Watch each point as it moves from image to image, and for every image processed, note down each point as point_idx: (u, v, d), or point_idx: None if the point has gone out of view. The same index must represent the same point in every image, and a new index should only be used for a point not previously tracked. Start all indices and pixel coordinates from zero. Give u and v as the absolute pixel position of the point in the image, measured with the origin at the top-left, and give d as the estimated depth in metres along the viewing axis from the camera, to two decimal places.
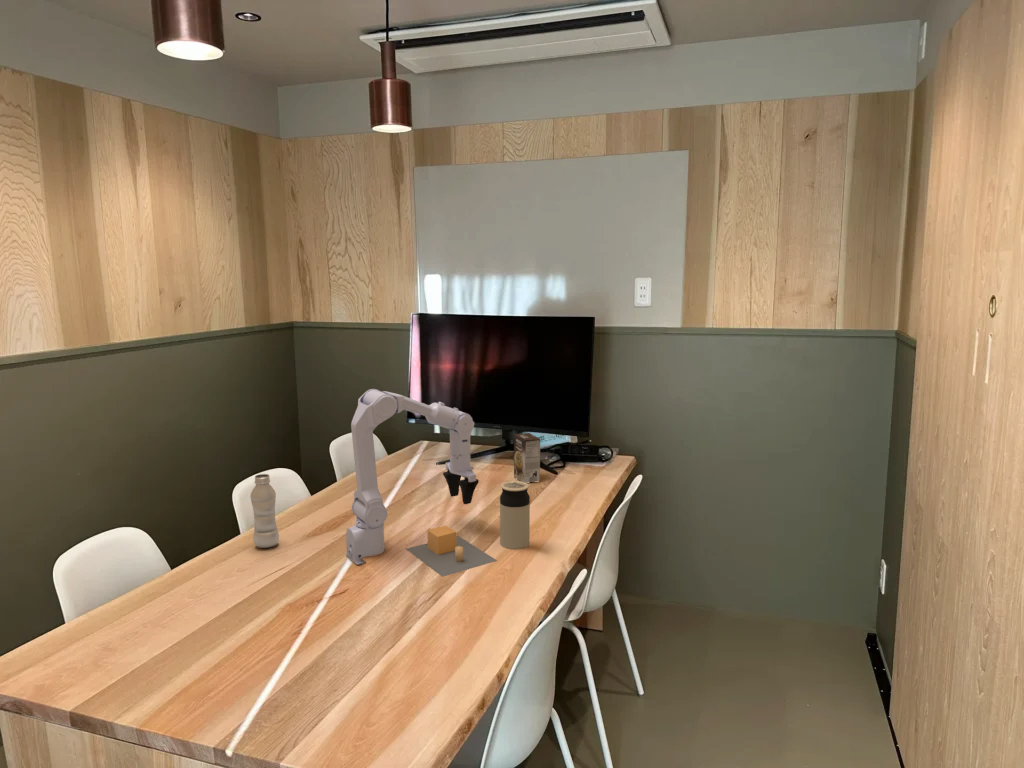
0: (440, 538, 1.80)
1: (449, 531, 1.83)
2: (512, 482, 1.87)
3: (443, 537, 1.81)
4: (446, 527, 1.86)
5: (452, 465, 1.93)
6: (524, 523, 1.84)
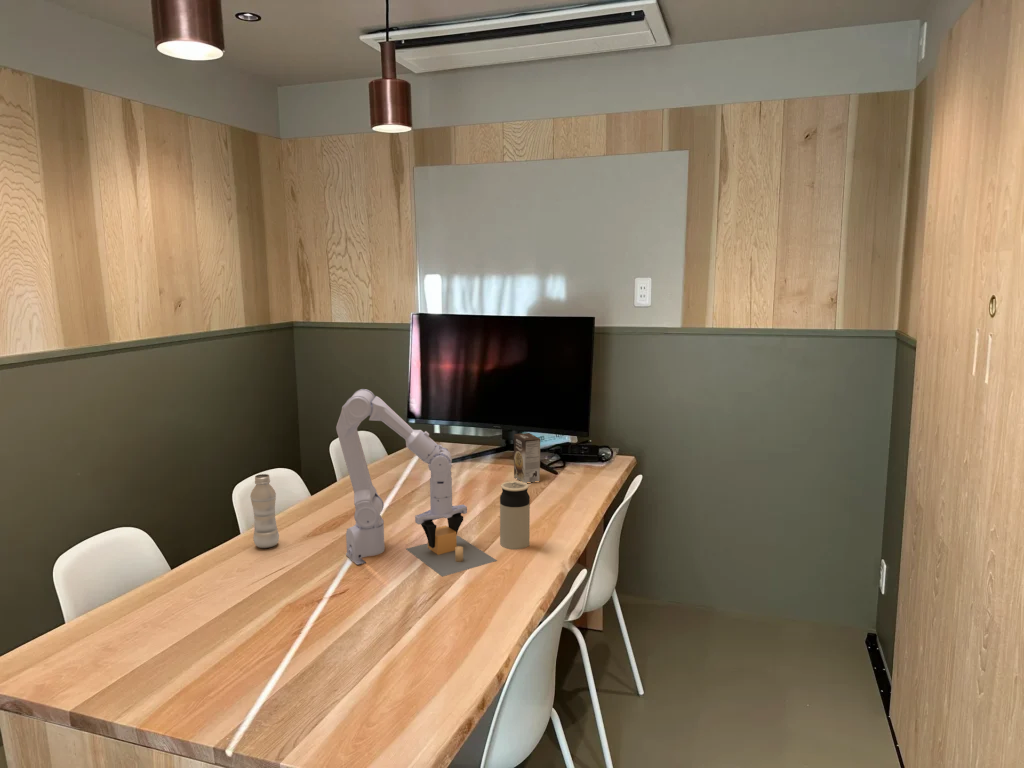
0: (440, 538, 1.80)
1: (449, 531, 1.83)
2: (512, 482, 1.87)
3: (443, 537, 1.81)
4: (446, 527, 1.86)
5: None
6: (524, 523, 1.84)
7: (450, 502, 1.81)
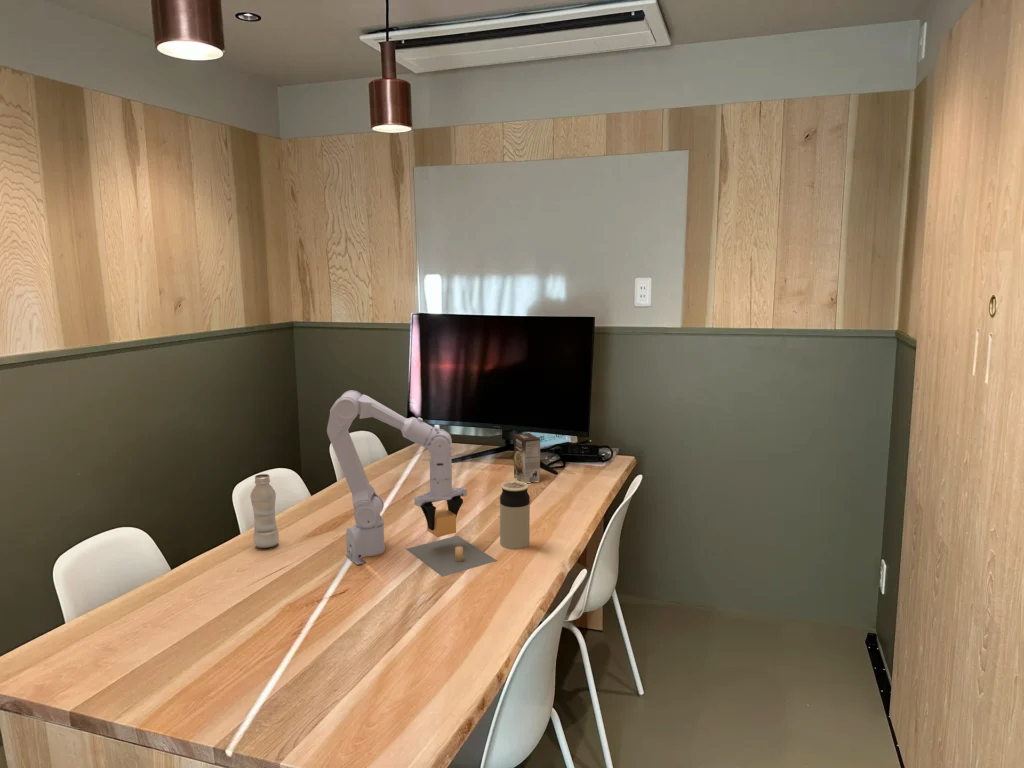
0: (440, 520, 1.79)
1: (449, 514, 1.82)
2: (512, 482, 1.87)
3: (443, 520, 1.80)
4: (446, 510, 1.85)
5: None
6: (524, 523, 1.84)
7: (450, 484, 1.80)
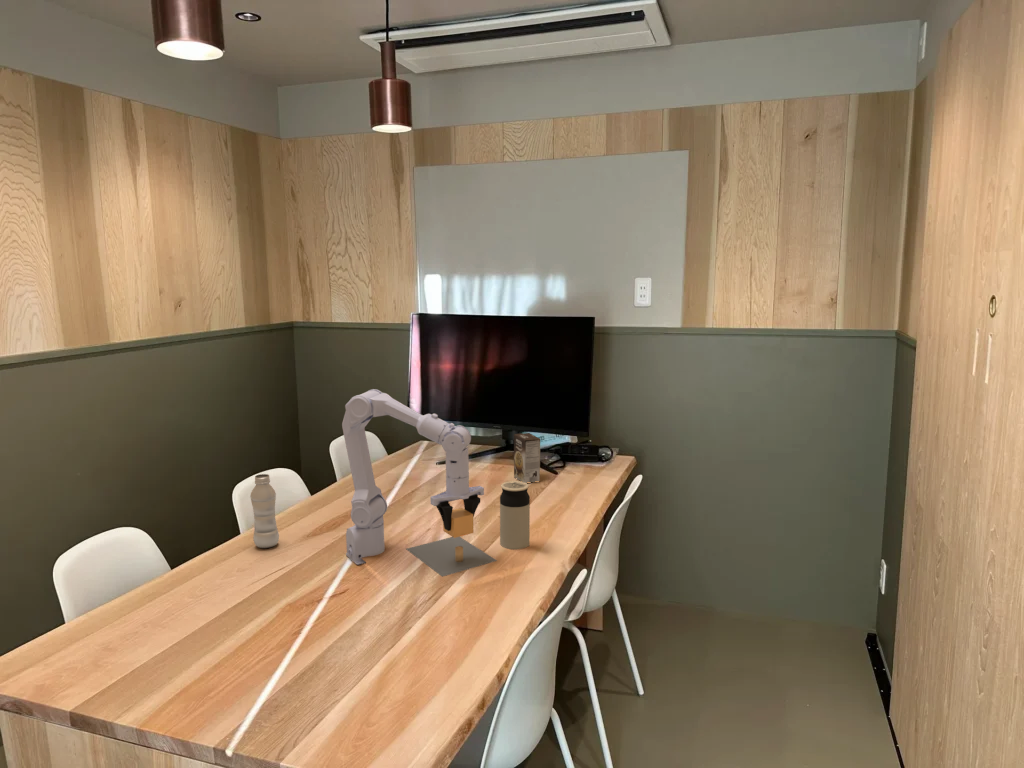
0: (456, 520, 1.72)
1: (466, 513, 1.75)
2: (512, 482, 1.87)
3: (460, 520, 1.73)
4: (462, 509, 1.78)
5: None
6: (524, 523, 1.84)
7: (467, 483, 1.73)
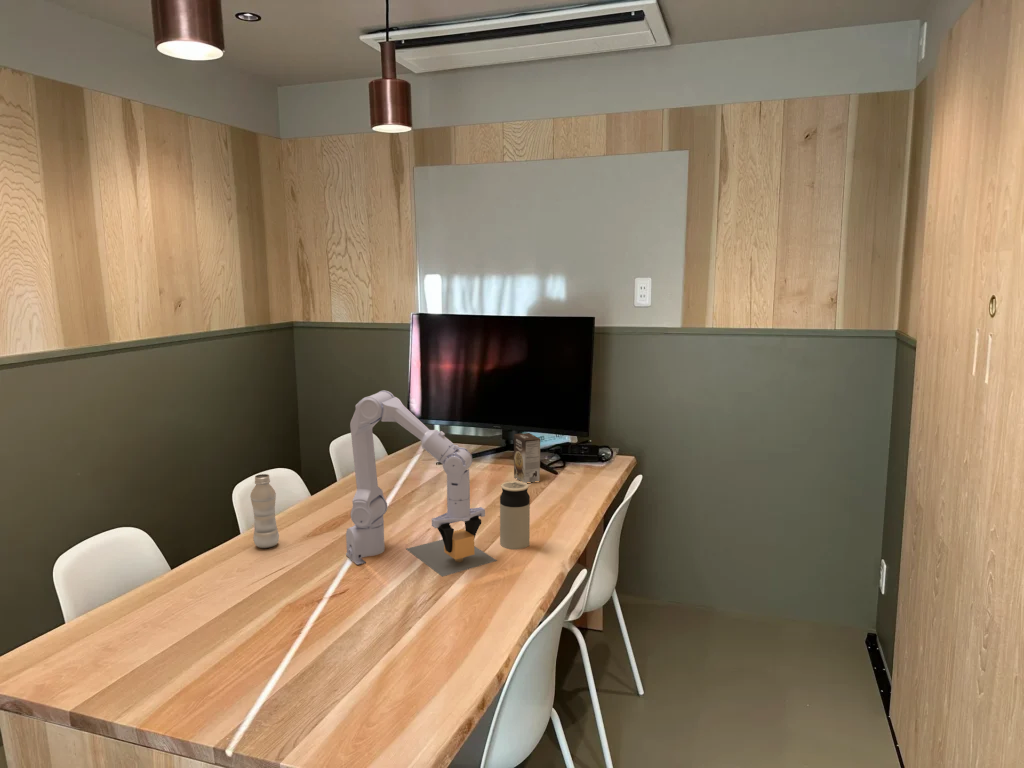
0: (457, 542, 1.73)
1: (467, 535, 1.75)
2: (512, 482, 1.87)
3: (461, 541, 1.73)
4: (463, 531, 1.78)
5: None
6: (524, 523, 1.84)
7: (468, 505, 1.73)
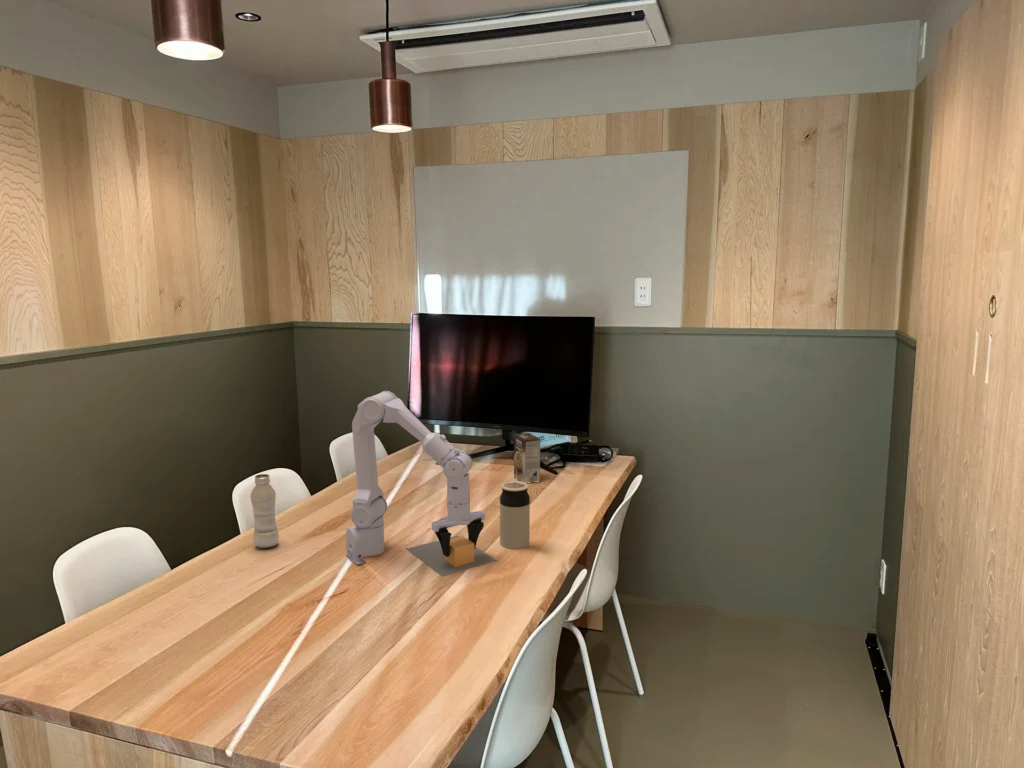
0: (457, 550, 1.73)
1: (467, 542, 1.76)
2: (512, 482, 1.87)
3: (461, 549, 1.73)
4: (463, 538, 1.79)
5: None
6: (524, 523, 1.84)
7: (468, 508, 1.73)
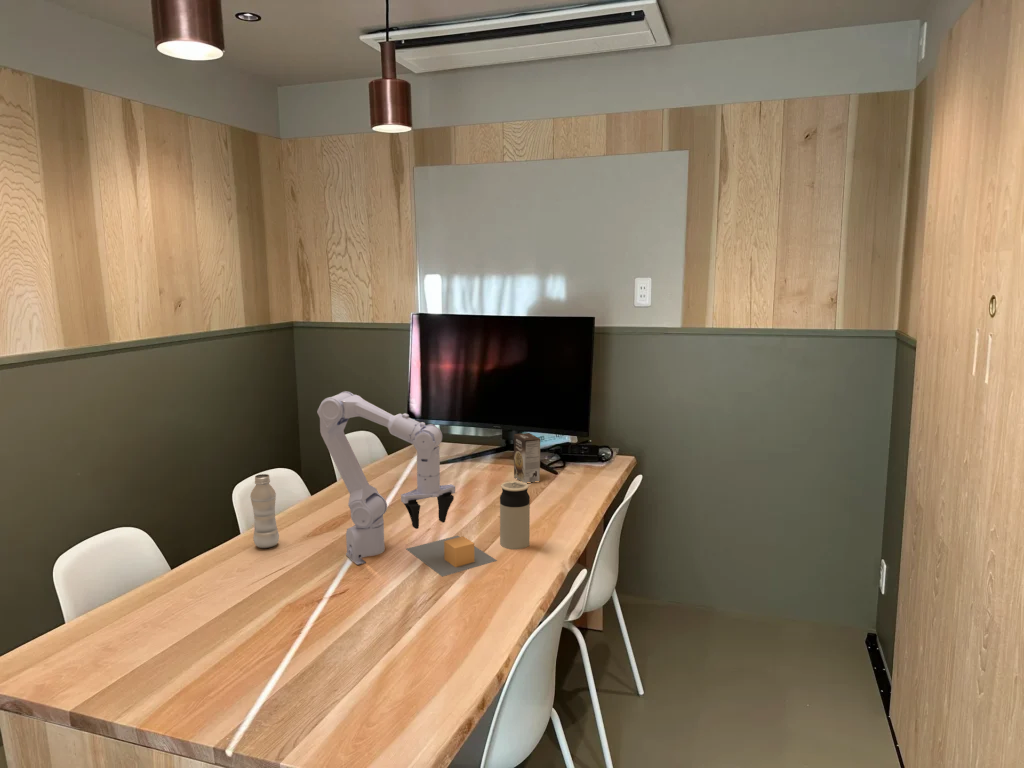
0: (457, 550, 1.73)
1: (467, 542, 1.76)
2: (512, 482, 1.87)
3: (461, 549, 1.73)
4: (463, 538, 1.79)
5: None
6: (524, 523, 1.84)
7: (437, 481, 1.75)
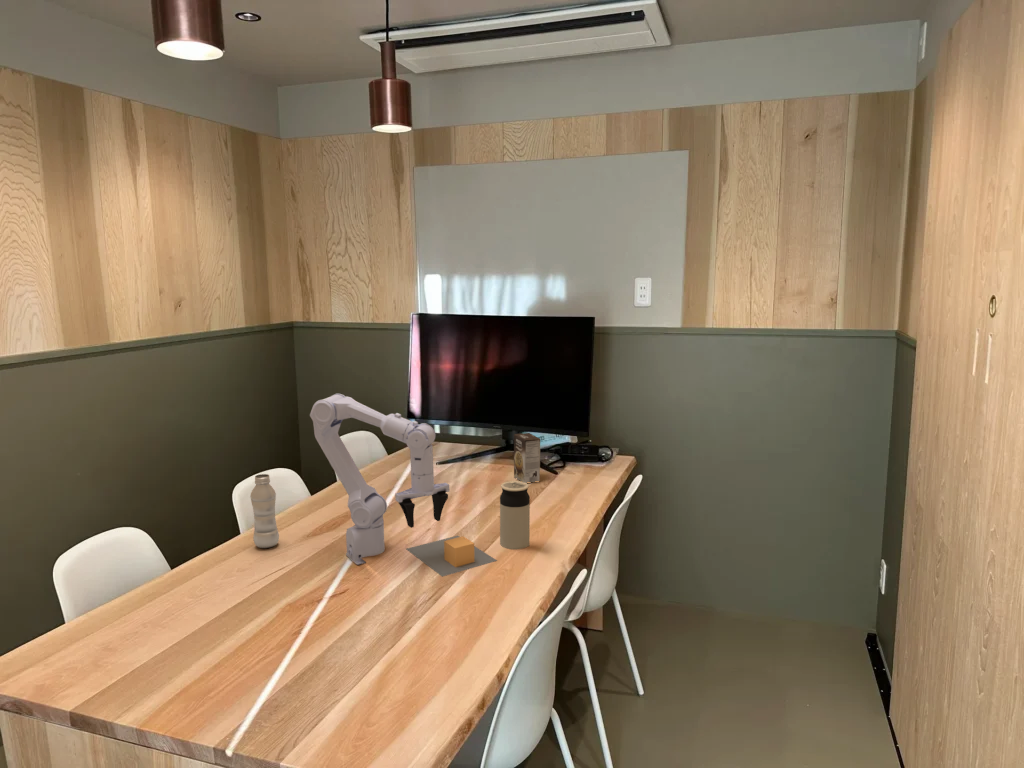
0: (457, 550, 1.73)
1: (467, 542, 1.76)
2: (512, 482, 1.87)
3: (461, 549, 1.73)
4: (463, 538, 1.79)
5: None
6: (524, 523, 1.84)
7: (431, 479, 1.75)
